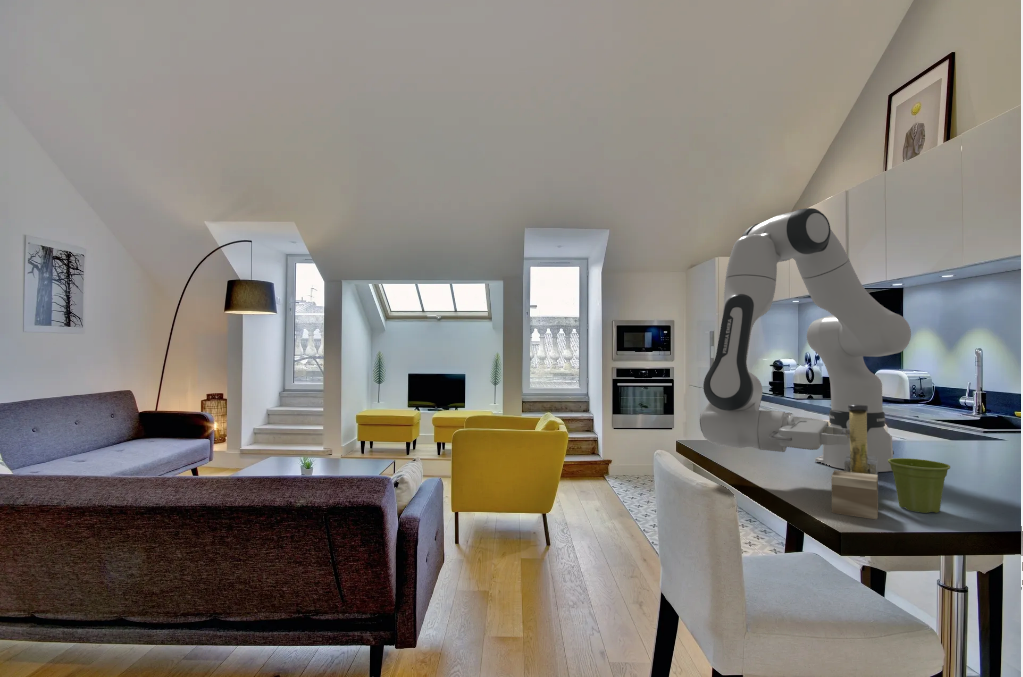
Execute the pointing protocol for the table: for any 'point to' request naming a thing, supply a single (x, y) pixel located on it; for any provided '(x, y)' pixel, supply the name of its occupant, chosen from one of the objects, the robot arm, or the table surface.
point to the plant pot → (919, 483)
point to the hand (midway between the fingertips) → (849, 436)
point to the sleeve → (871, 464)
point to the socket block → (855, 494)
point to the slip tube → (858, 439)
